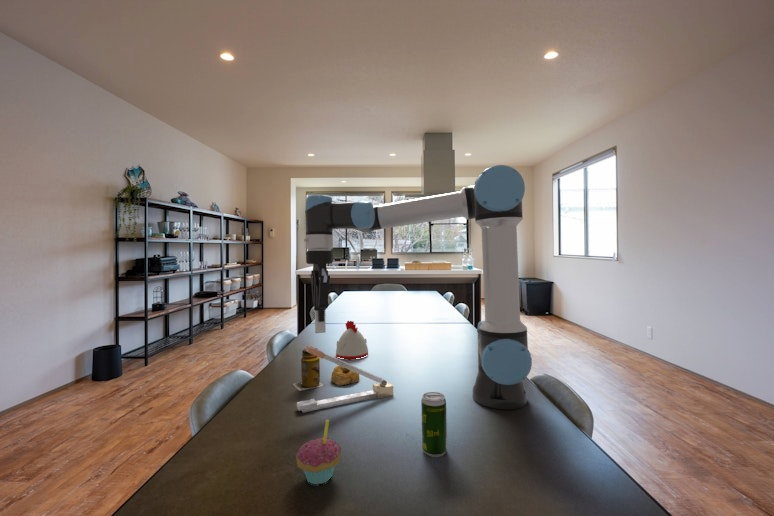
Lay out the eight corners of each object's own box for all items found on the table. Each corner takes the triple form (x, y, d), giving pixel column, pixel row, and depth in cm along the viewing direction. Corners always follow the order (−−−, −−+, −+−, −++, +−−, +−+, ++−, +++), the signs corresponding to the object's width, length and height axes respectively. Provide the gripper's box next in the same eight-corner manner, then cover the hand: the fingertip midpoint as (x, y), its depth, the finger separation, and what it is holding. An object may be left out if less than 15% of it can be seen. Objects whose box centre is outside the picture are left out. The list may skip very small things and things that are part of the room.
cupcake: (343, 464, 73) (342, 406, 73) (339, 492, 64) (337, 426, 64) (301, 466, 72) (300, 407, 72) (291, 493, 64) (290, 427, 64)
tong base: (393, 395, 108) (393, 385, 108) (299, 414, 96) (299, 403, 96) (387, 390, 112) (387, 381, 112) (296, 408, 100) (296, 397, 100)
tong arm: (385, 386, 108) (387, 381, 108) (307, 352, 98) (310, 347, 98) (381, 383, 111) (383, 378, 111) (305, 349, 101) (307, 344, 101)
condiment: (324, 385, 118) (323, 349, 118) (299, 391, 113) (298, 354, 113) (315, 379, 124) (315, 345, 124) (292, 385, 119) (291, 349, 119)
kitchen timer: (356, 349, 163) (355, 317, 163) (374, 355, 152) (373, 321, 152) (330, 355, 154) (329, 321, 154) (347, 362, 144) (346, 325, 143)
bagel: (325, 385, 118) (325, 371, 118) (337, 374, 129) (337, 361, 129) (353, 387, 116) (353, 373, 116) (363, 376, 126) (363, 363, 126)
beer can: (443, 443, 80) (442, 390, 80) (450, 457, 74) (449, 400, 74) (420, 445, 79) (419, 392, 79) (424, 459, 74) (423, 401, 74)
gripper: (301, 250, 105) (302, 329, 105) (311, 249, 93) (312, 338, 94) (326, 250, 108) (326, 327, 108) (338, 249, 97) (339, 335, 97)
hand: (320, 332), depth 101 cm, fingers closed
